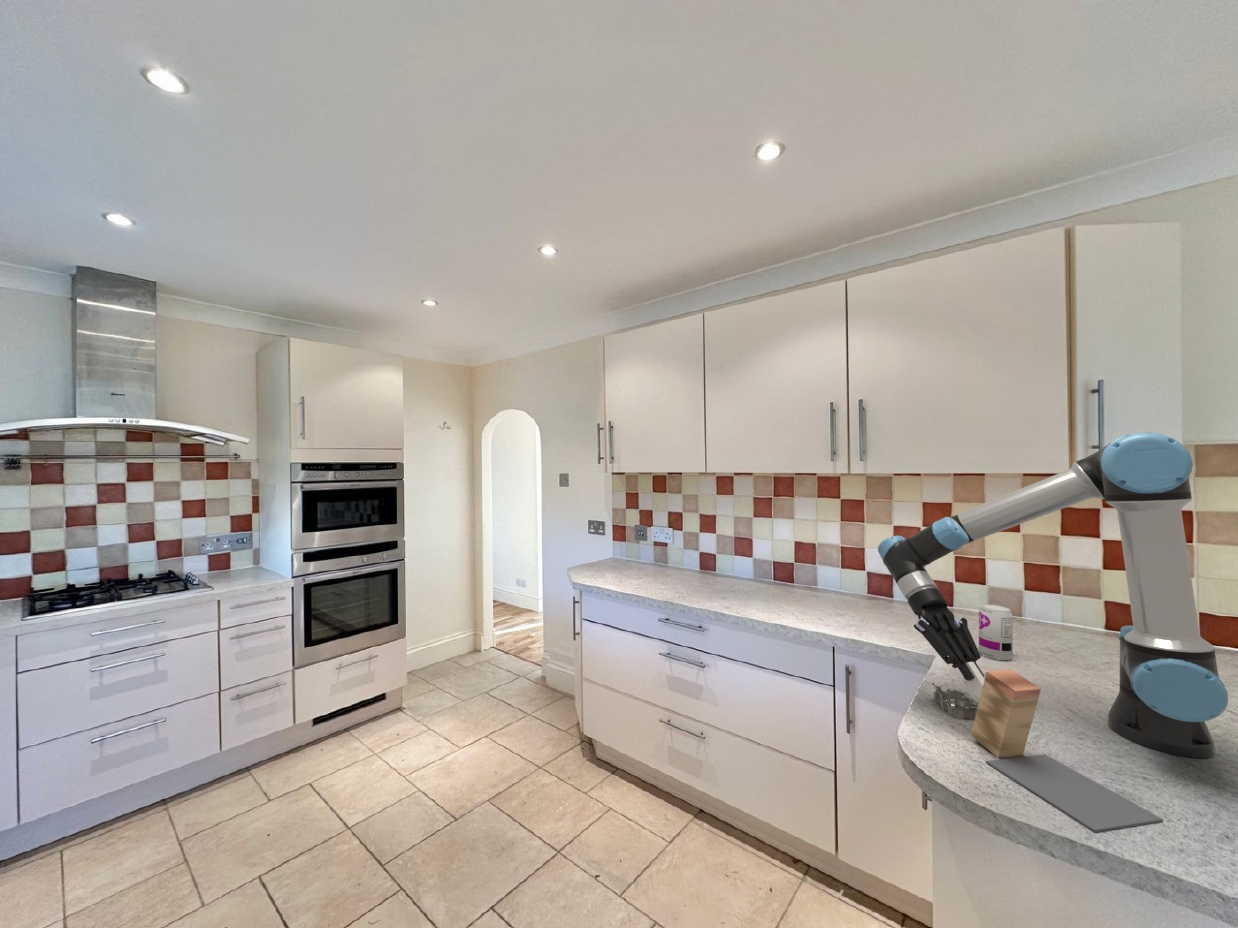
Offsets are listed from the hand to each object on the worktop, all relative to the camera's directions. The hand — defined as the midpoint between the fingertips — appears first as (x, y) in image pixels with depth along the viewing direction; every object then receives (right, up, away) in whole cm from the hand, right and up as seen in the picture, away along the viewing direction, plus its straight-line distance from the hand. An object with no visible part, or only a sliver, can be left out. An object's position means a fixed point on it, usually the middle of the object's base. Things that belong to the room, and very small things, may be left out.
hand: (985, 695), depth 100 cm
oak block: (+1, -9, -2) cm, 9 cm away
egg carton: (+4, -10, +14) cm, 18 cm away
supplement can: (+39, -11, +48) cm, 63 cm away
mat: (+3, -10, -15) cm, 18 cm away
